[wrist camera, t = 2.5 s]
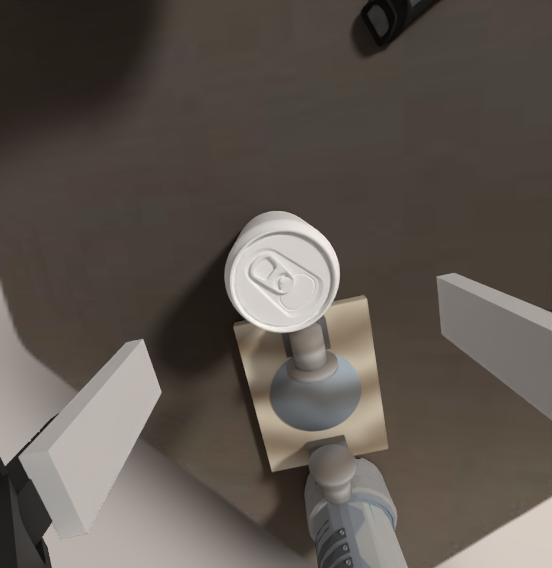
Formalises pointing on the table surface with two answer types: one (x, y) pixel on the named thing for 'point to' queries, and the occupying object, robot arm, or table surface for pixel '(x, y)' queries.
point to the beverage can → (281, 273)
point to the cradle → (317, 394)
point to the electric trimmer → (390, 17)
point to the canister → (355, 523)
